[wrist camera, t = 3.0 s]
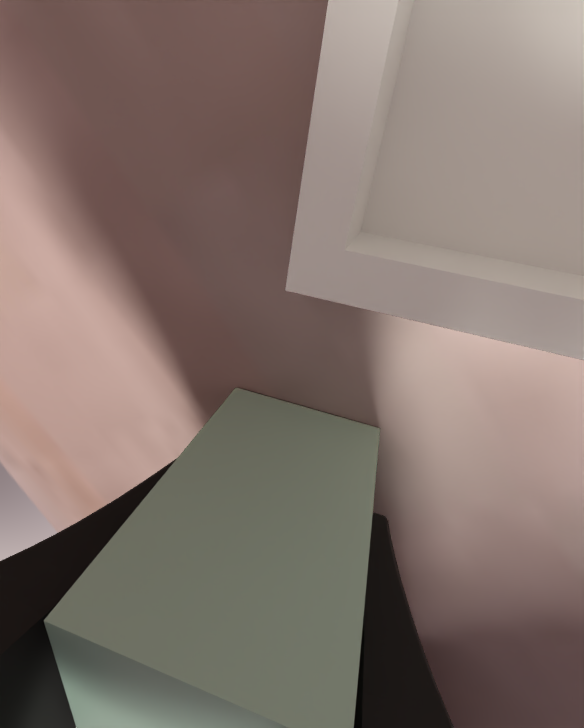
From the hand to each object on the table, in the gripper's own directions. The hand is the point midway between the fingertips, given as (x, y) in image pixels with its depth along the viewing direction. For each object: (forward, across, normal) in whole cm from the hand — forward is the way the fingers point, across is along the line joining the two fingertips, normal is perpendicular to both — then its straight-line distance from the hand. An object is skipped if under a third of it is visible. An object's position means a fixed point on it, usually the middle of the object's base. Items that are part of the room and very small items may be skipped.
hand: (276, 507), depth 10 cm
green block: (+2, 0, 0) cm, 2 cm away
